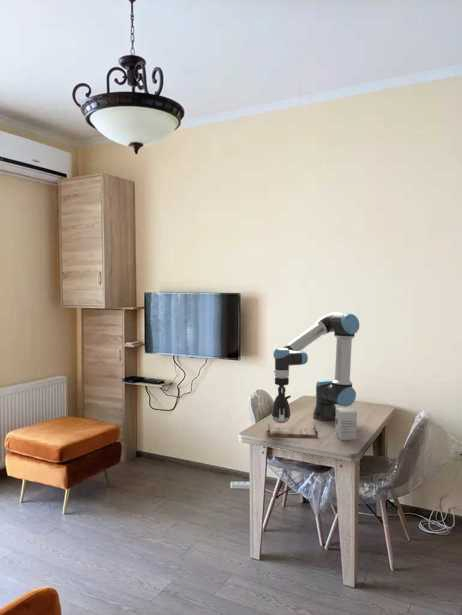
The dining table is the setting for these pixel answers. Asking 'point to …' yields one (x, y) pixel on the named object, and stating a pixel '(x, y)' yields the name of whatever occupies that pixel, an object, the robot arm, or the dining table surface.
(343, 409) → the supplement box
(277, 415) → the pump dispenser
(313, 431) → the ledge board
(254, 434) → the dining table surface
